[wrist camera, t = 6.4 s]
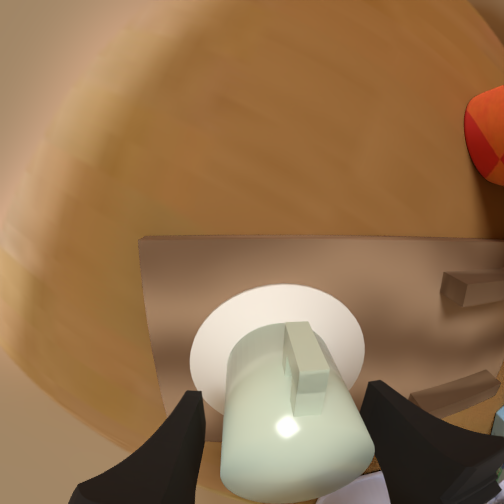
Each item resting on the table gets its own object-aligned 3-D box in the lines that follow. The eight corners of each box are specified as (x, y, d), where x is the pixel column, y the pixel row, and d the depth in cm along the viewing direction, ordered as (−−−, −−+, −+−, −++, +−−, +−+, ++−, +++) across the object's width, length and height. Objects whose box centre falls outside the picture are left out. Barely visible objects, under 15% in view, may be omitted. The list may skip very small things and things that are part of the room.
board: (484, 383, 17) (503, 402, 14) (175, 428, 16) (167, 463, 13) (526, 240, 14) (555, 250, 11) (145, 236, 13) (118, 251, 10)
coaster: (346, 414, 15) (348, 419, 15) (199, 421, 15) (199, 426, 15) (374, 280, 13) (377, 283, 13) (183, 283, 13) (181, 286, 12)
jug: (322, 400, 14) (353, 492, 8) (228, 405, 14) (224, 505, 8) (340, 287, 13) (410, 369, 6) (224, 288, 13) (209, 385, 6)
